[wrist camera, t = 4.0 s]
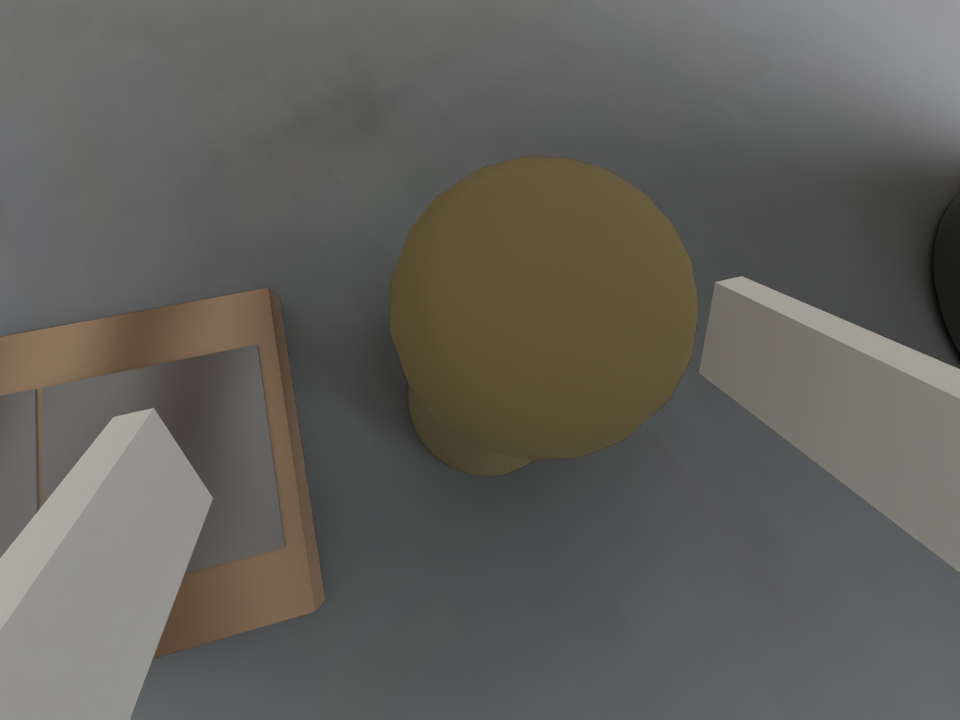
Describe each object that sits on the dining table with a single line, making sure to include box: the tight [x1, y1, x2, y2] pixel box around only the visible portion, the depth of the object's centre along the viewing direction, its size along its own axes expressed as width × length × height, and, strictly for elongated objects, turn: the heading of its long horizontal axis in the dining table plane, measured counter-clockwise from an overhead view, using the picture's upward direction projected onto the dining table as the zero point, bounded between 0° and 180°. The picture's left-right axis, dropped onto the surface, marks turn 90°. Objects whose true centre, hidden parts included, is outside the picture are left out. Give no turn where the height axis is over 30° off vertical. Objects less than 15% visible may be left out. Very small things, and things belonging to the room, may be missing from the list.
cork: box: [390, 156, 698, 476], centre depth 11 cm, size 6×6×11 cm
